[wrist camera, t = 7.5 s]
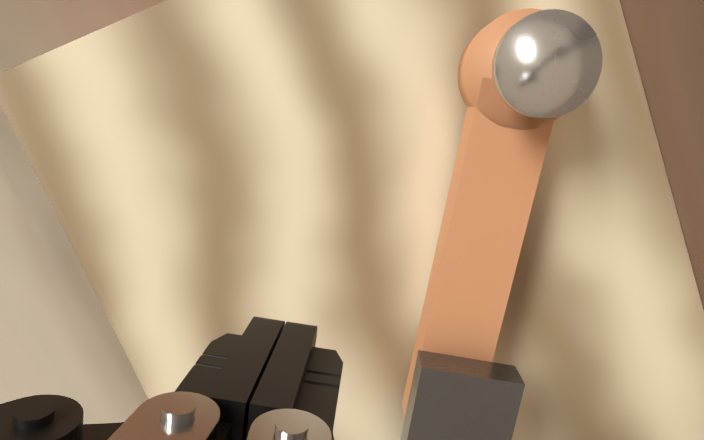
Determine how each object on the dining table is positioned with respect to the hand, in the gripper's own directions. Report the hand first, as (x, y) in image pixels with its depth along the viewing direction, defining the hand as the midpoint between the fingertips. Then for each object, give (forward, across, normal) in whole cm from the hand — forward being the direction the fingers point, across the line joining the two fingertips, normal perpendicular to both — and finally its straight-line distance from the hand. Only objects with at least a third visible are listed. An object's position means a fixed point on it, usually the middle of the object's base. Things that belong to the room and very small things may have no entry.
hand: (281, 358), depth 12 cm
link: (+11, -6, -1) cm, 13 cm away
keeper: (+12, -6, +8) cm, 15 cm away
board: (+13, -2, +1) cm, 13 cm away
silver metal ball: (+9, -6, -8) cm, 14 cm away
